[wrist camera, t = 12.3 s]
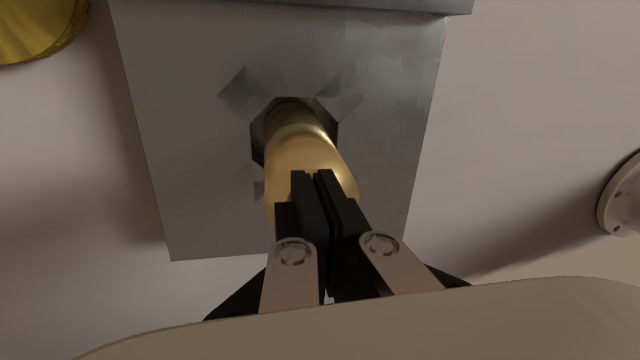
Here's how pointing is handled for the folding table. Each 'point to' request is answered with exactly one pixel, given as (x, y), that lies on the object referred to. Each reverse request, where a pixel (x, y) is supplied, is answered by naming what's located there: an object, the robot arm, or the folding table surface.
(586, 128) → the folding table surface
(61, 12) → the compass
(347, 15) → the jig
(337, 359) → the robot arm
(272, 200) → the brass cylinder
